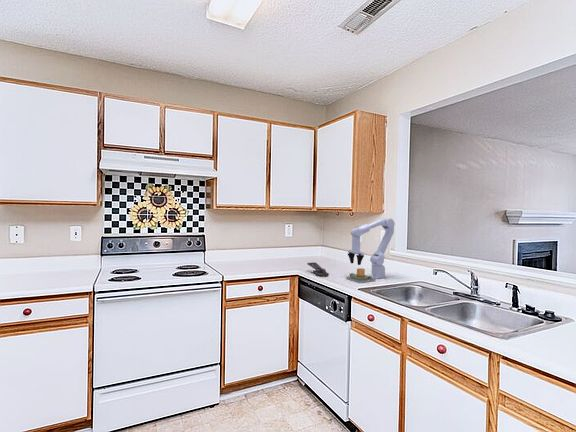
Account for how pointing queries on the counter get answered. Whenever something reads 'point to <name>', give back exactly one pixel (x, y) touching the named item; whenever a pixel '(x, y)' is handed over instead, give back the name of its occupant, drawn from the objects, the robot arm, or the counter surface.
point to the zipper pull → (318, 270)
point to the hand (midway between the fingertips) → (355, 264)
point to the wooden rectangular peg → (360, 272)
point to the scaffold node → (360, 278)
